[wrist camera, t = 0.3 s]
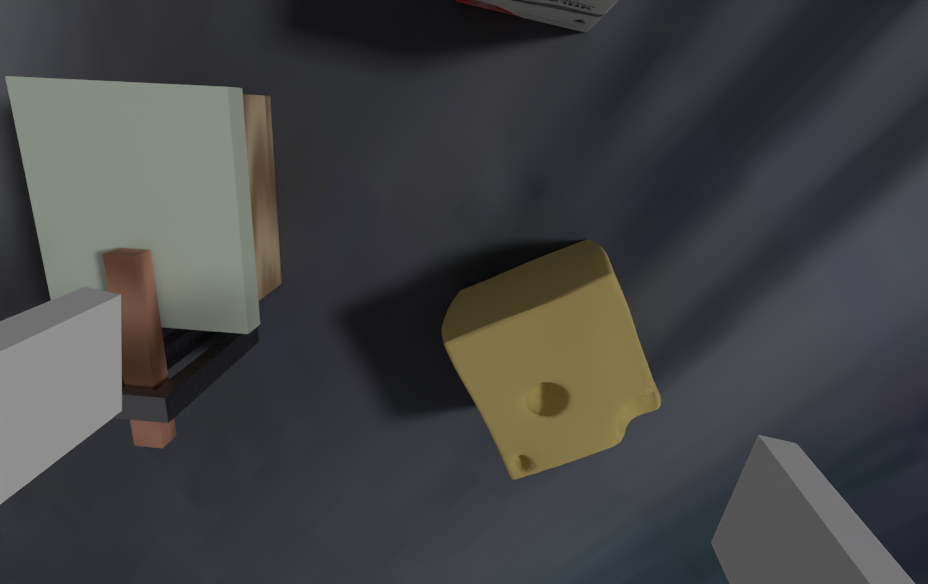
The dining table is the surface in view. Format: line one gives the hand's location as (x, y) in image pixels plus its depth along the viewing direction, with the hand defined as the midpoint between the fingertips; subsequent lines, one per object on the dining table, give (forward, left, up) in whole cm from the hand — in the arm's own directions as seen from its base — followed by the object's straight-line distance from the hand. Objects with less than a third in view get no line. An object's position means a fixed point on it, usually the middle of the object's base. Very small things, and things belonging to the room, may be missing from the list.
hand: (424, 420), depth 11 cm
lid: (0, -19, -21) cm, 29 cm away
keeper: (+11, -19, -27) cm, 35 cm away
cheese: (+8, +5, -28) cm, 29 cm away
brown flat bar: (+8, -19, -18) cm, 28 cm away
